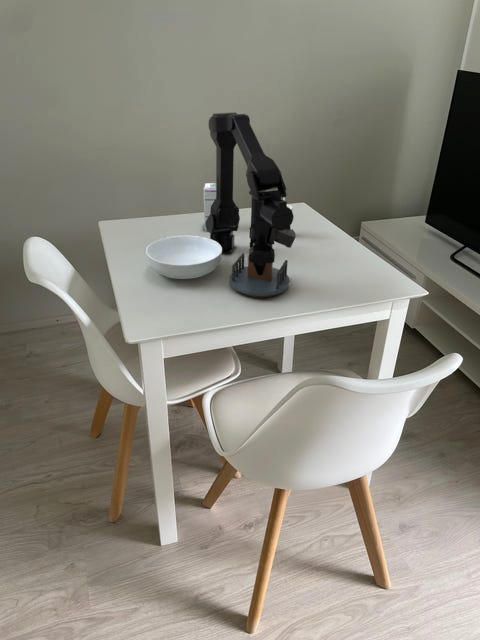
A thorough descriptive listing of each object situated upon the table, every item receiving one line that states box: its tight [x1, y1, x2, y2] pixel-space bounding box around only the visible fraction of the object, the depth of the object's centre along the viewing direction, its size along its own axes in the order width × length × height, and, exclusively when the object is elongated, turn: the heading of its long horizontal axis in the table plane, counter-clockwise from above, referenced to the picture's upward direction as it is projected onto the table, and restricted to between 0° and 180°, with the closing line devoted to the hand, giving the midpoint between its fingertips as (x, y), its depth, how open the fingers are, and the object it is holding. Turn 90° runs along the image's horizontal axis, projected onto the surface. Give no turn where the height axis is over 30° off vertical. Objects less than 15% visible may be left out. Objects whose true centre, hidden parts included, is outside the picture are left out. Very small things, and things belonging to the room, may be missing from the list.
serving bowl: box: [145, 234, 223, 280], centre depth 144 cm, size 21×21×7 cm
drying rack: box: [229, 252, 291, 296], centre depth 137 cm, size 17×16×7 cm
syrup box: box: [202, 182, 216, 232], centre depth 171 cm, size 6×6×14 cm
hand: (260, 273), depth 137 cm, fingers closed, pressing on drying rack
